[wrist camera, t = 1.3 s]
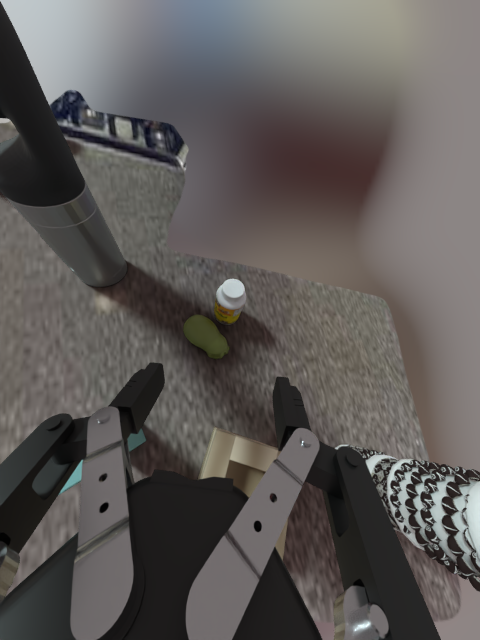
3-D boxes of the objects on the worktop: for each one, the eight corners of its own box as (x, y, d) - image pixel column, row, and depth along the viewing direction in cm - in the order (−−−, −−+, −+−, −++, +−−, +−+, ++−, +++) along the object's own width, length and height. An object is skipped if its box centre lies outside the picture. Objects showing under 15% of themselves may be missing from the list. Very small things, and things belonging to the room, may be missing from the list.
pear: (199, 304, 35) (239, 341, 35) (196, 314, 40) (231, 346, 40) (177, 325, 33) (220, 364, 33) (176, 333, 37) (214, 367, 37)
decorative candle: (314, 465, 32) (564, 586, 10) (347, 430, 36) (585, 462, 14) (352, 523, 30) (787, 847, 8) (383, 479, 33) (742, 615, 11)
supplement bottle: (208, 310, 41) (211, 282, 32) (228, 299, 43) (236, 270, 34) (223, 330, 40) (230, 307, 31) (243, 317, 42) (255, 292, 33)
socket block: (184, 520, 26) (180, 548, 21) (214, 426, 32) (217, 429, 27) (264, 546, 27) (280, 579, 22) (280, 448, 32) (296, 456, 27)
